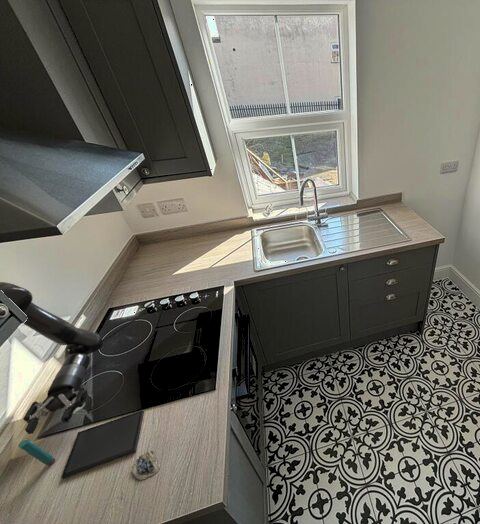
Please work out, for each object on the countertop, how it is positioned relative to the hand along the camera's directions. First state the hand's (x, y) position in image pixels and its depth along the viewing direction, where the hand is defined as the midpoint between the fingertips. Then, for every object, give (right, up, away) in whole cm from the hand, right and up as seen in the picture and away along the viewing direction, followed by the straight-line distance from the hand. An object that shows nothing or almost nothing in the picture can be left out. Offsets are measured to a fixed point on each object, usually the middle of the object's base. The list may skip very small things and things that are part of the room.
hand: (46, 426), depth 86 cm
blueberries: (+32, -9, -3) cm, 34 cm away
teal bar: (+3, -9, -2) cm, 10 cm away
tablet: (+16, -6, +2) cm, 17 cm away
